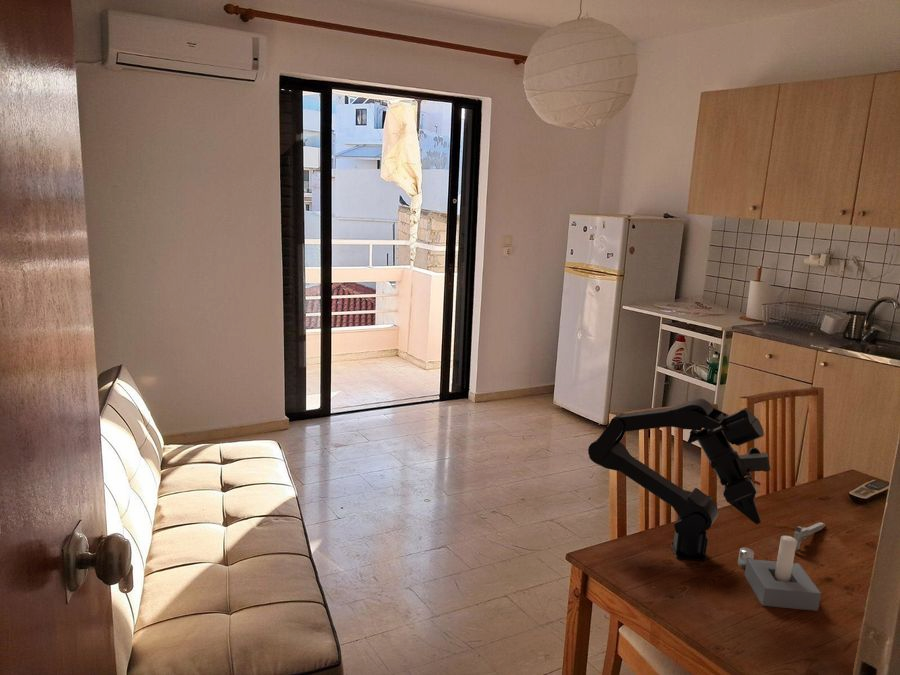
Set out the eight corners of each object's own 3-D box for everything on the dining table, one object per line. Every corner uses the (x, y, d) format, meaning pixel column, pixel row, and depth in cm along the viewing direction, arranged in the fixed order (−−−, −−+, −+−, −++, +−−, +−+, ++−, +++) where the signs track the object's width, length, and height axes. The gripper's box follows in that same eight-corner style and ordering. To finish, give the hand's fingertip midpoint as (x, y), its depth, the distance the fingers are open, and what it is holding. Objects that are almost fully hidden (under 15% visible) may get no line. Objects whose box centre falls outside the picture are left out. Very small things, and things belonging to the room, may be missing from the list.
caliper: (794, 554, 158) (799, 530, 156) (790, 552, 158) (794, 528, 157) (825, 526, 171) (829, 504, 170) (820, 525, 172) (824, 503, 171)
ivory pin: (770, 592, 142) (779, 539, 139) (773, 586, 144) (782, 534, 141) (785, 598, 140) (795, 544, 137) (788, 591, 142) (798, 538, 139)
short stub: (740, 567, 151) (742, 553, 150) (736, 560, 153) (738, 546, 153) (753, 569, 150) (756, 555, 150) (749, 561, 153) (751, 548, 152)
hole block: (762, 605, 137) (765, 588, 136) (744, 575, 148) (747, 559, 147) (817, 610, 136) (821, 593, 135) (796, 579, 147) (799, 563, 146)
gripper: (758, 444, 136) (799, 514, 134) (751, 430, 154) (787, 491, 152) (707, 467, 140) (746, 535, 138) (706, 450, 157) (740, 511, 155)
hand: (756, 517), depth 145 cm, fingers open, 9 cm apart
